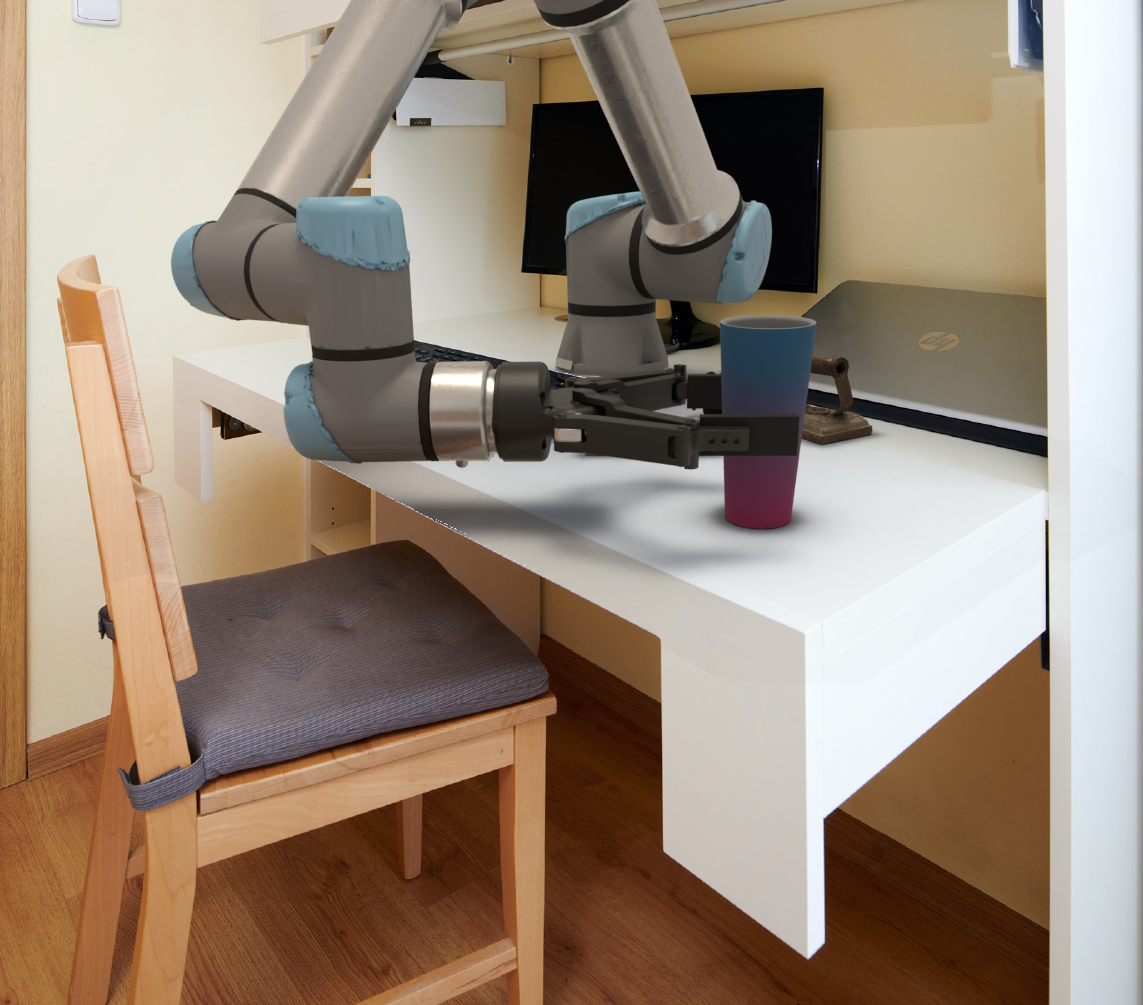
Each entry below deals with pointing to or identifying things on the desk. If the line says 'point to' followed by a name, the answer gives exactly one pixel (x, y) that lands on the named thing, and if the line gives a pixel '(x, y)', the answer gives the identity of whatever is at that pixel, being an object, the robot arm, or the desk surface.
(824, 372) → the clothes iron
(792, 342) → the cup
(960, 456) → the desk surface
